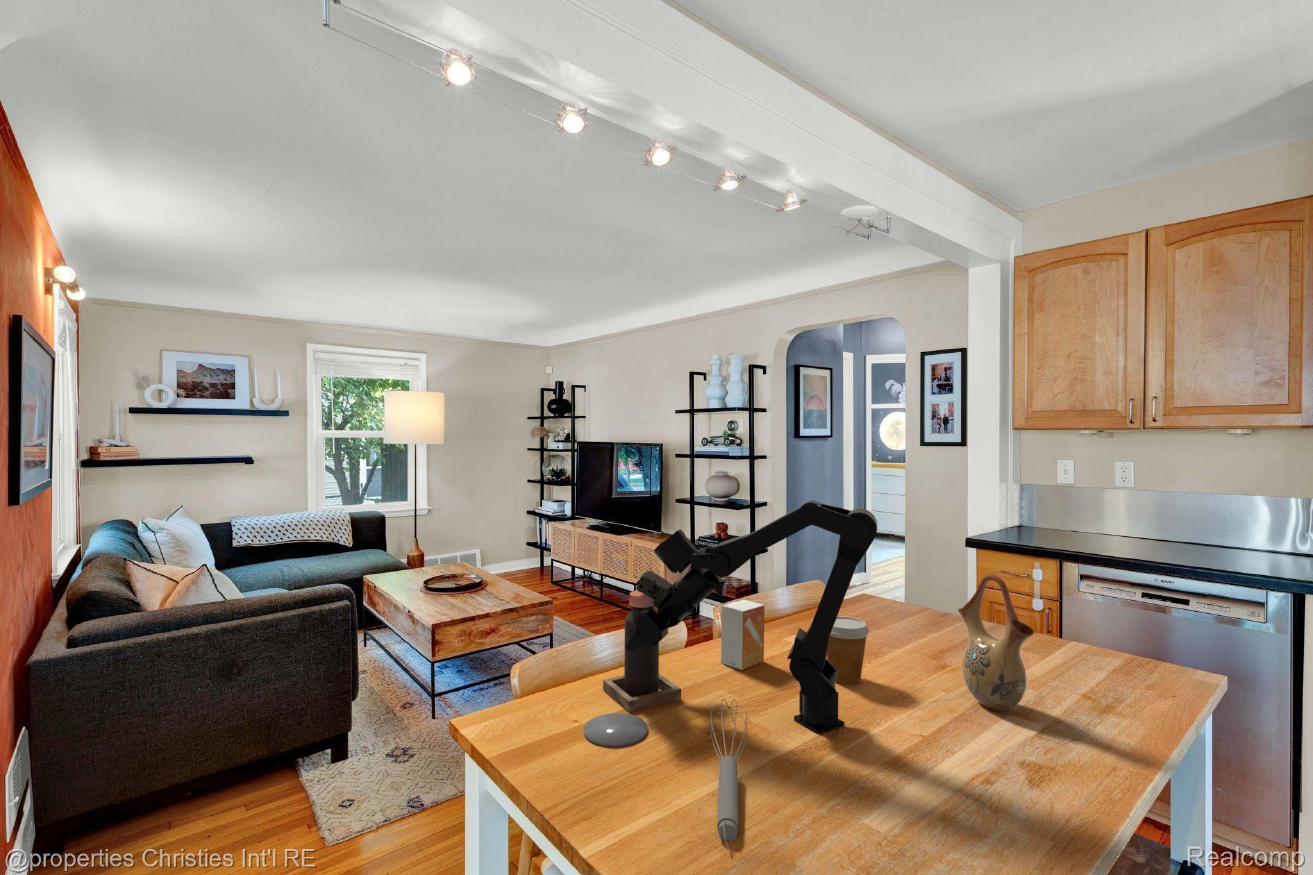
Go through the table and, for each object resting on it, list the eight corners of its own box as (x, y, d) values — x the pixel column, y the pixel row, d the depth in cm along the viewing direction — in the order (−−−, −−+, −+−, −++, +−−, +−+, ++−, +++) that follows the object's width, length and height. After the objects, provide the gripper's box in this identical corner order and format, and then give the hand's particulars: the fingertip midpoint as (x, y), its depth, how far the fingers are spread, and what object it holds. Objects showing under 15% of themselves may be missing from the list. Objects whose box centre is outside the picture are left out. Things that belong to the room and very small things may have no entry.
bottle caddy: (681, 699, 121) (681, 688, 121) (628, 712, 115) (628, 701, 115) (652, 678, 131) (652, 669, 131) (603, 689, 125) (603, 679, 125)
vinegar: (644, 705, 118) (644, 599, 118) (617, 695, 122) (617, 594, 122) (665, 693, 123) (666, 592, 123) (638, 684, 128) (639, 587, 127)
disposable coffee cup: (862, 671, 135) (863, 616, 135) (873, 689, 126) (874, 630, 126) (817, 669, 136) (818, 614, 136) (825, 687, 127) (825, 628, 126)
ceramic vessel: (1049, 721, 112) (1051, 583, 112) (1010, 728, 109) (1011, 586, 109) (978, 686, 127) (979, 564, 127) (941, 691, 125) (943, 567, 125)
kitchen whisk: (703, 852, 77) (703, 802, 77) (711, 726, 111) (711, 690, 111) (753, 857, 76) (753, 806, 76) (746, 728, 110) (746, 692, 110)
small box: (742, 671, 135) (742, 611, 135) (720, 663, 140) (720, 605, 139) (764, 661, 141) (765, 604, 140) (742, 654, 145) (743, 598, 145)
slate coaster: (658, 736, 106) (658, 733, 106) (599, 753, 100) (599, 749, 100) (629, 711, 115) (629, 708, 115) (573, 724, 110) (573, 721, 110)
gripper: (676, 551, 130) (627, 598, 134) (644, 569, 112) (588, 623, 116) (713, 592, 127) (662, 639, 131) (685, 617, 110) (627, 671, 114)
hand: (635, 641), depth 123 cm, fingers open, 9 cm apart
